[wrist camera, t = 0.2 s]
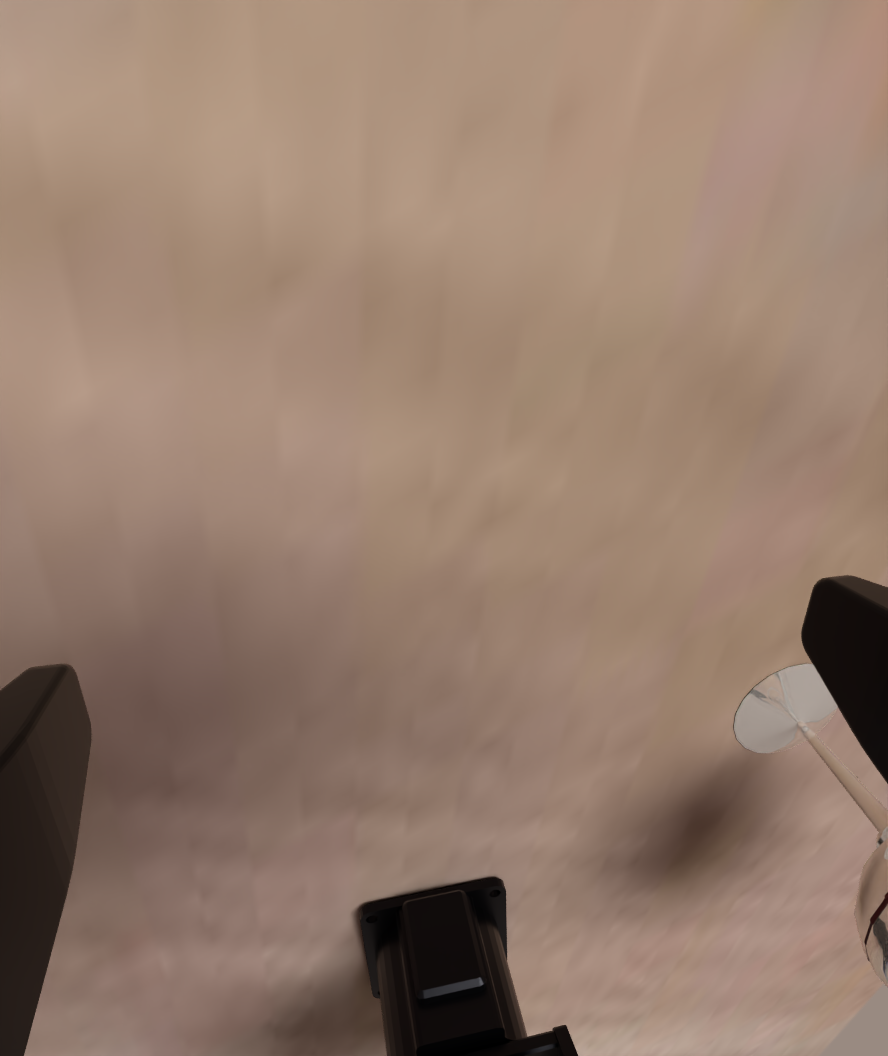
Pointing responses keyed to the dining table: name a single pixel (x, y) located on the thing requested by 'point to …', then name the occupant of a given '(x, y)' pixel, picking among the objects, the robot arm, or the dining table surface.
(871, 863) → the wineglass
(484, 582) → the dining table surface
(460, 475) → the dining table surface
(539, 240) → the dining table surface
